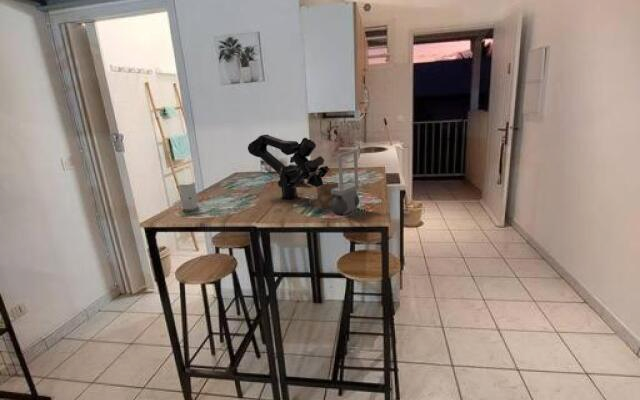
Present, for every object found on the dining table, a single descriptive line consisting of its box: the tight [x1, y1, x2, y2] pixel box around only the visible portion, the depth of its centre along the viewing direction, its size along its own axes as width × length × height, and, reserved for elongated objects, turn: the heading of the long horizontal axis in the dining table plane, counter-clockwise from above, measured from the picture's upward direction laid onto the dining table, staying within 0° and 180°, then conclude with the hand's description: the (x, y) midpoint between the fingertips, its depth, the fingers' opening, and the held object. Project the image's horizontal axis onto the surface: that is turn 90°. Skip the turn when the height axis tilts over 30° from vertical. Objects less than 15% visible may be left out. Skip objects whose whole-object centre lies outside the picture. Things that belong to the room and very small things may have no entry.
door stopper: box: [288, 163, 306, 188], centre depth 194 cm, size 9×6×12 cm, turn 146°
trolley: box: [330, 149, 360, 216], centre depth 140 cm, size 7×12×25 cm, turn 140°
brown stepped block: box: [309, 181, 339, 210], centre depth 152 cm, size 16×10×9 cm, turn 50°
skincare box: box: [178, 181, 199, 210], centre depth 162 cm, size 6×4×12 cm
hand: (323, 189), depth 153 cm, fingers closed
